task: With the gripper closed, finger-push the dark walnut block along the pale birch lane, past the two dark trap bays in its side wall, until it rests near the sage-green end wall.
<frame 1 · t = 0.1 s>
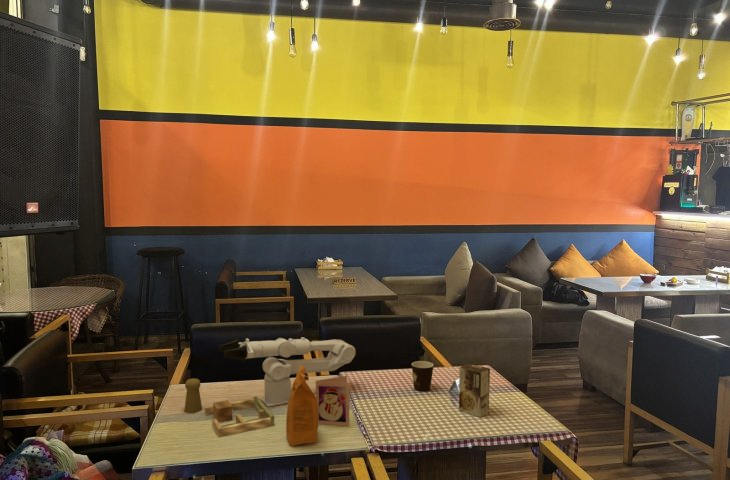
hand: (221, 351, 187), 22 cm above the table, tool horizontal, fingers open, 7 cm apart
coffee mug: (421, 388, 214), on the table
walnut block: (222, 418, 183), on the table
coffee package: (302, 438, 169), on the table
coffee box: (473, 412, 191), on the table
trap lane: (236, 415, 185), on the table
greeting card: (334, 422, 181), on the table
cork: (193, 410, 190), on the table
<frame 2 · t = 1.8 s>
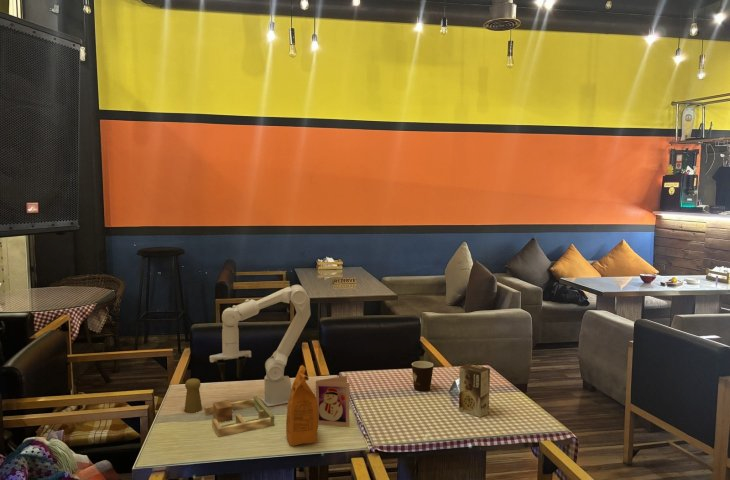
hand: (230, 378, 193), 10 cm above the table, tool pointing down, fingers open, 5 cm apart
nothing on the table moved.
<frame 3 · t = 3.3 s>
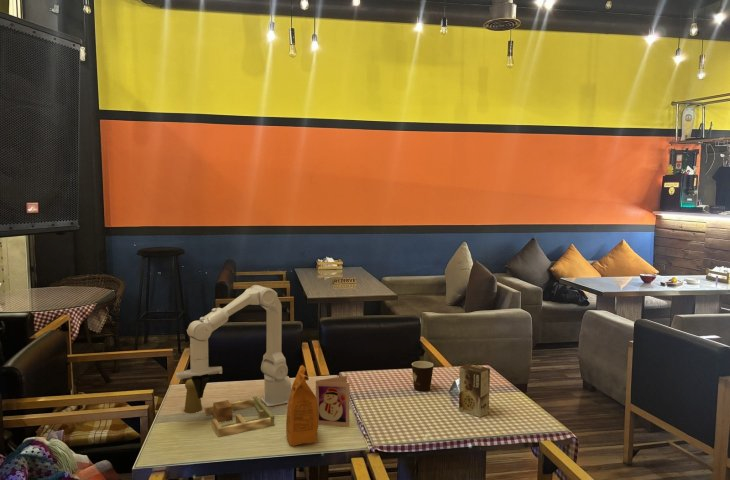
hand: (199, 397, 178), 9 cm above the table, tool pointing down, fingers closed
nothing on the table moved.
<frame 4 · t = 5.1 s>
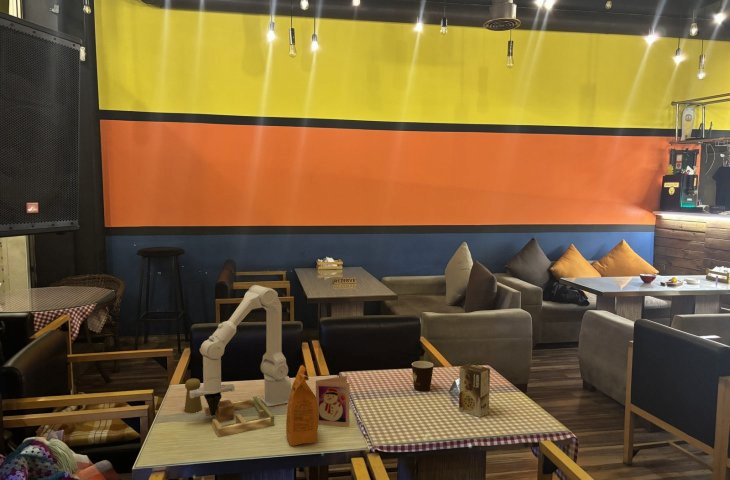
hand: (212, 414, 181), 2 cm above the table, tool pointing down, fingers closed
walnut block: (224, 418, 183), on the table, touching gripper
everything else where it was.
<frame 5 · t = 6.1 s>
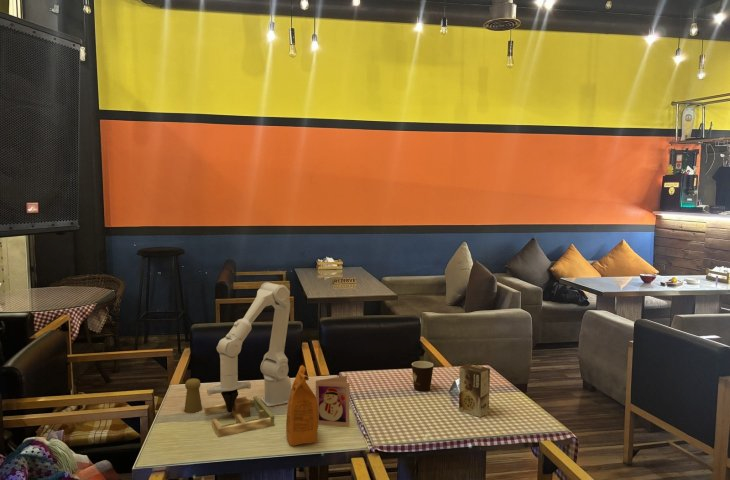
hand: (229, 411, 184), 2 cm above the table, tool pointing down, fingers closed
walnut block: (240, 414, 186), on the table, touching gripper
everything else where it was.
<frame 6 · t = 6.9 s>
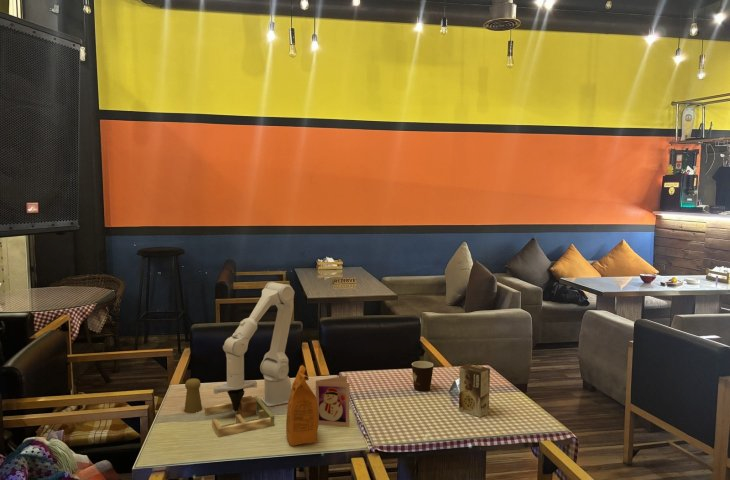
hand: (235, 410, 185), 2 cm above the table, tool pointing down, fingers closed
walnut block: (246, 413, 187), on the table, touching gripper
everything else where it was.
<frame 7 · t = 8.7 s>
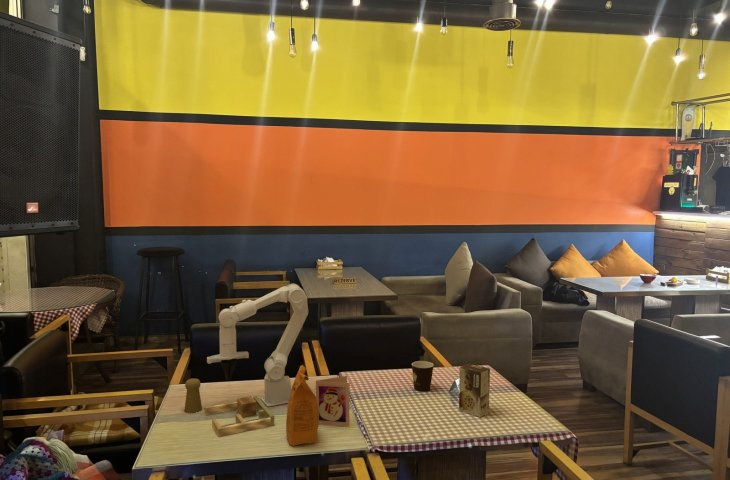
hand: (228, 379, 192), 10 cm above the table, tool pointing down, fingers closed
walnut block: (246, 414, 187), on the table
everything else where it was.
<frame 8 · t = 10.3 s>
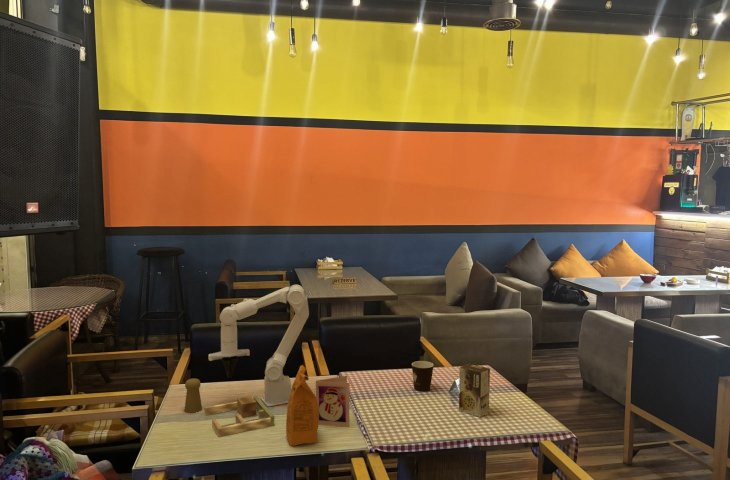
hand: (229, 376, 195), 10 cm above the table, tool pointing down, fingers closed
nothing on the table moved.
at the end: walnut block inside the target area on the trap lane (0.9 cm from its centre), point 0.0 cm above the trap lane's base; walnut block tilted 0° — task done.
